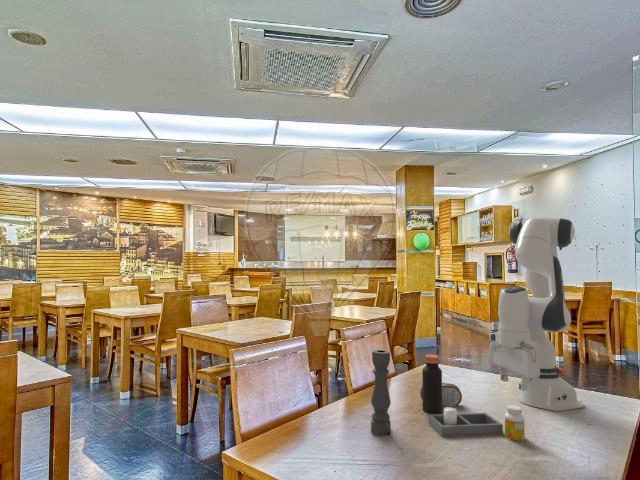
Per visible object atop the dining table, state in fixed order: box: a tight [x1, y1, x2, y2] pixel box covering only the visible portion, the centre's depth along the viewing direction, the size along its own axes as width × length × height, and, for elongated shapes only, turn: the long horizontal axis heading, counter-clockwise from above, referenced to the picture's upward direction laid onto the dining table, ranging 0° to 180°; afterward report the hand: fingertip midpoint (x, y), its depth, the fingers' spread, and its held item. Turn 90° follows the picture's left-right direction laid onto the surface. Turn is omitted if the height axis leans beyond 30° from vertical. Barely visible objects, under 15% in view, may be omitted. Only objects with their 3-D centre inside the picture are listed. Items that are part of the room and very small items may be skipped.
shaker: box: [443, 406, 458, 426], centre depth 129 cm, size 4×4×6 cm
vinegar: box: [421, 354, 443, 415], centre depth 145 cm, size 7×7×20 cm
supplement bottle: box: [504, 404, 526, 442], centre depth 123 cm, size 5×5×10 cm
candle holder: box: [370, 349, 392, 437], centre depth 128 cm, size 6×6×25 cm
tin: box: [419, 382, 463, 407], centre depth 152 cm, size 15×3×8 cm, turn 84°
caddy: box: [427, 412, 504, 437], centre depth 129 cm, size 20×10×4 cm, turn 98°
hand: (513, 385), depth 124 cm, fingers open, 8 cm apart
